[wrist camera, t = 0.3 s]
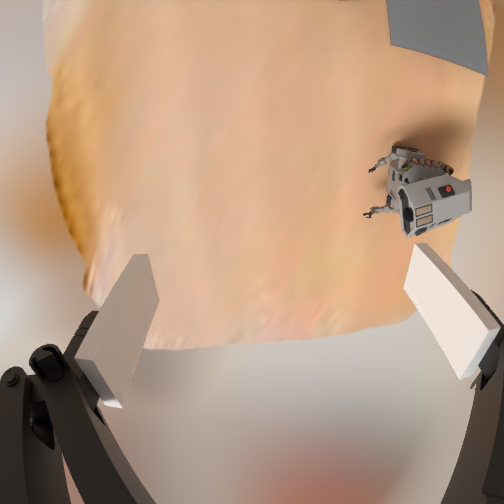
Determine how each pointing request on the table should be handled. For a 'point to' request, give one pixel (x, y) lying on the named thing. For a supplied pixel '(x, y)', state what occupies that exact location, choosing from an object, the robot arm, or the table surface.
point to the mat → (440, 30)
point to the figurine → (422, 191)
